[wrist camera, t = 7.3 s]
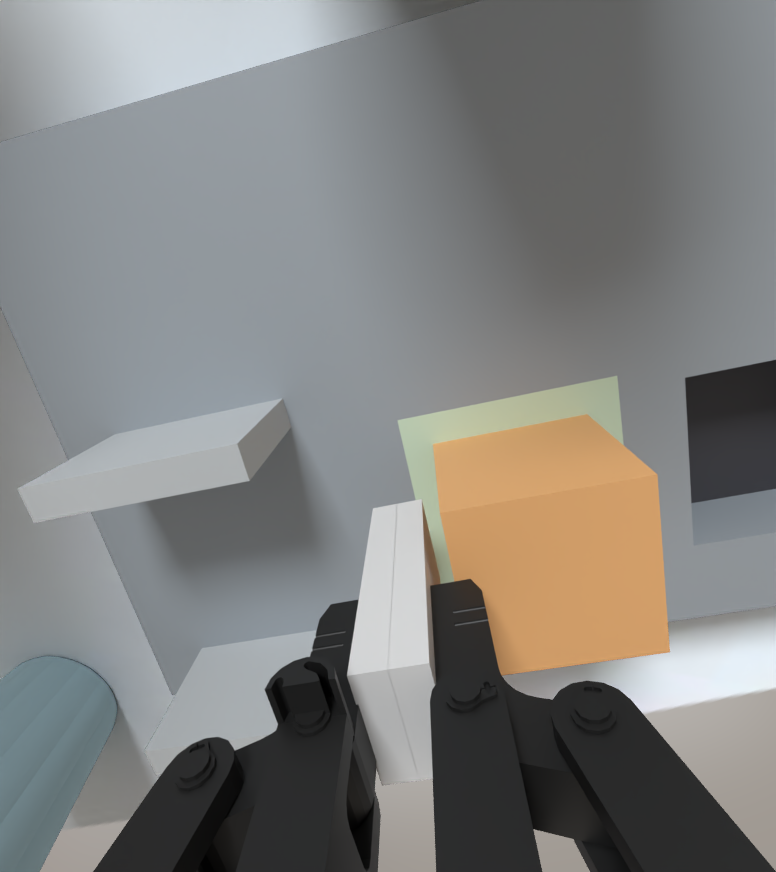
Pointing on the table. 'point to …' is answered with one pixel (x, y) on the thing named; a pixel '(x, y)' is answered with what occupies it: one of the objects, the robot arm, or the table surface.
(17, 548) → the table surface
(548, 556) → the orange block
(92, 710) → the cup
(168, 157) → the platform
